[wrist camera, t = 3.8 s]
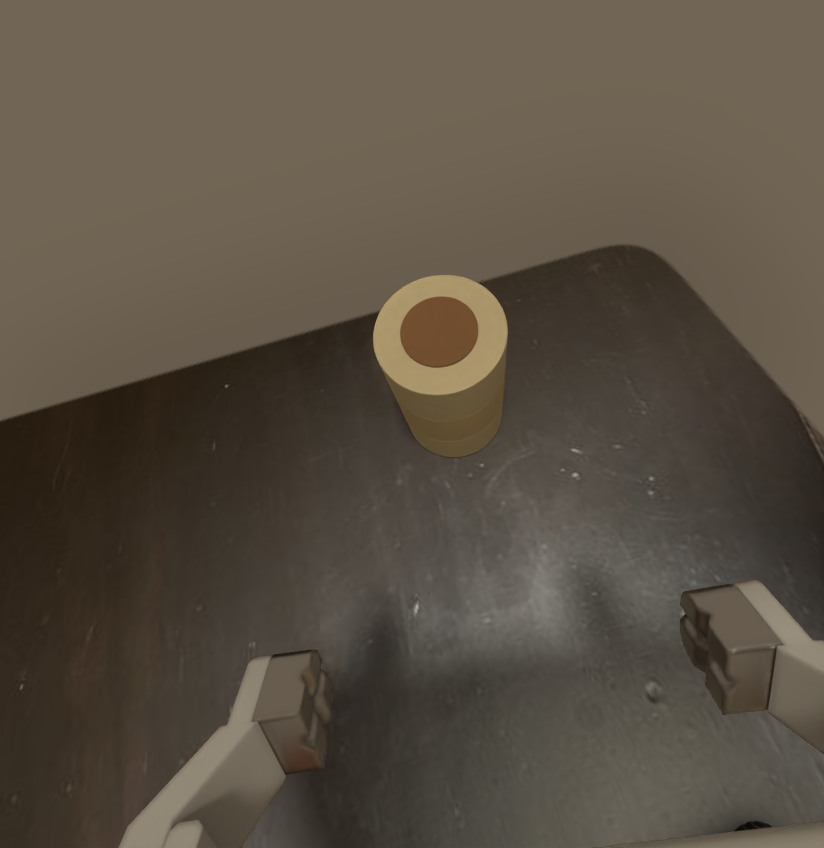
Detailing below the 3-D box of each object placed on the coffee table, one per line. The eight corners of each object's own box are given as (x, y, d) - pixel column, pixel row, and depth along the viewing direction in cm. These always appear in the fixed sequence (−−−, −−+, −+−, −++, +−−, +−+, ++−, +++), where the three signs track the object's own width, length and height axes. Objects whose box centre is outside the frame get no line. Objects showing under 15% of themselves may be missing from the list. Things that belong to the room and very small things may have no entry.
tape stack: (463, 351, 29) (452, 249, 21) (522, 419, 27) (537, 338, 19) (389, 404, 29) (347, 322, 20) (444, 476, 27) (423, 420, 18)
